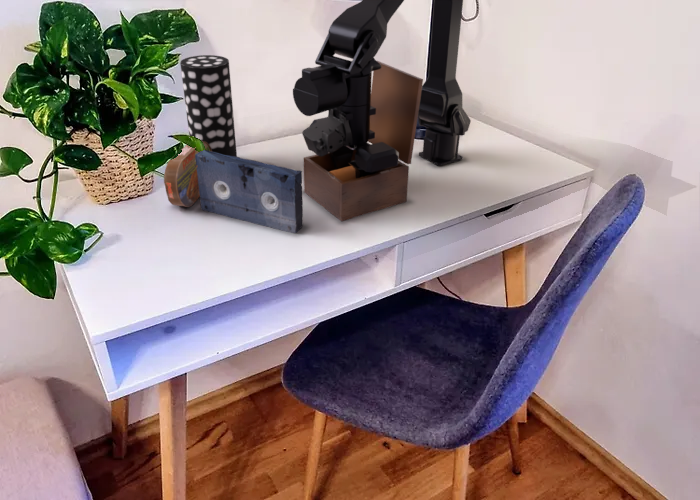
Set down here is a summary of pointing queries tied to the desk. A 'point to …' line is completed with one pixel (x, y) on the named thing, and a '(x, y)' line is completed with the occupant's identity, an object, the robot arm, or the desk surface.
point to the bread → (344, 173)
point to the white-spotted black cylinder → (209, 101)
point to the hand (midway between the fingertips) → (351, 188)
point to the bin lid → (395, 109)
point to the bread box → (354, 188)
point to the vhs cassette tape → (250, 190)
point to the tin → (183, 177)
